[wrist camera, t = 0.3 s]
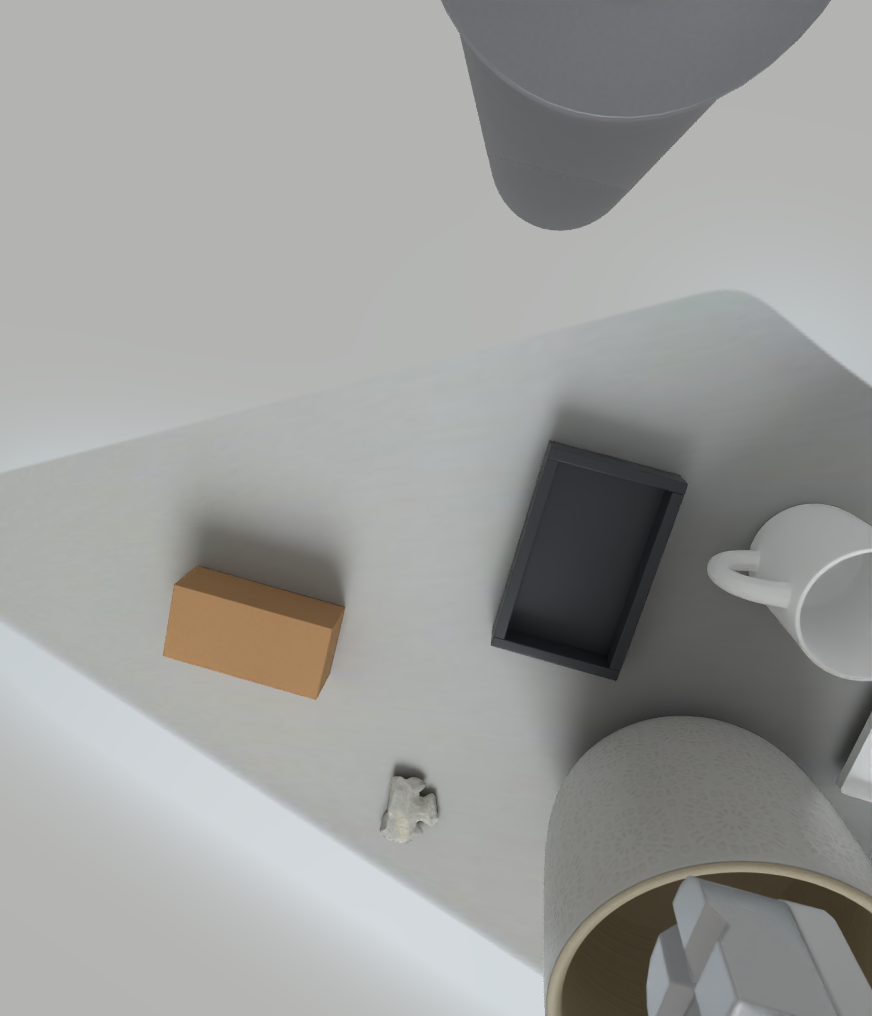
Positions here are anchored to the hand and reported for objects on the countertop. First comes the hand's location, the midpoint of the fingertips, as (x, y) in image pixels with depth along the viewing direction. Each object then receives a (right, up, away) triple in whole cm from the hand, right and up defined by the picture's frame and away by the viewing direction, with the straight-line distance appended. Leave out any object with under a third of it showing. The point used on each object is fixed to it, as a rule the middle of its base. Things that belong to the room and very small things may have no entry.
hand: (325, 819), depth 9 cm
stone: (+2, -21, +52) cm, 56 cm away
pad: (-12, -5, +50) cm, 51 cm away
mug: (+25, 0, +44) cm, 51 cm away
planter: (+20, -19, +50) cm, 57 cm away
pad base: (+12, 0, +45) cm, 47 cm away
